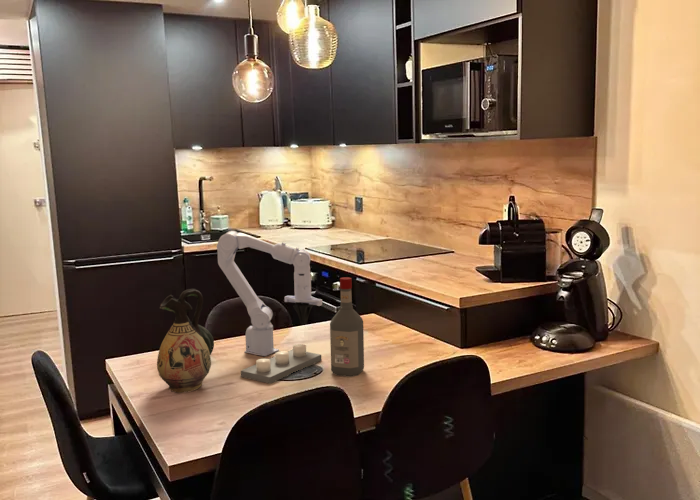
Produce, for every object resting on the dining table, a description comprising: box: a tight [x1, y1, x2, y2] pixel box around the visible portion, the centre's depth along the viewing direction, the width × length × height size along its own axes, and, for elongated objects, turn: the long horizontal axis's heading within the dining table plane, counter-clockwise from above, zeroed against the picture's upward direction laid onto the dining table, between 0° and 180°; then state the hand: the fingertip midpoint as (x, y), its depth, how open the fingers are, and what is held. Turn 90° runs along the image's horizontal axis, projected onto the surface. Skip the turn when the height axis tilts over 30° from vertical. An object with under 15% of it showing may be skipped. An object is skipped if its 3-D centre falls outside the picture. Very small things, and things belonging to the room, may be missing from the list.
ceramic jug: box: [156, 288, 212, 394], centre depth 192 cm, size 17×15×30 cm
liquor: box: [329, 276, 365, 378], centre depth 203 cm, size 9×9×30 cm
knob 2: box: [292, 343, 307, 357], centre depth 217 cm, size 4×4×5 cm
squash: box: [198, 323, 215, 356], centre depth 218 cm, size 14×15×15 cm
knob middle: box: [274, 350, 289, 364], centre depth 210 cm, size 4×4×5 cm
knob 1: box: [255, 358, 271, 372], centre depth 202 cm, size 4×4×5 cm
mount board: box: [240, 348, 322, 385], centre depth 210 cm, size 12×26×2 cm, turn 146°
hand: (303, 323), depth 226 cm, fingers closed
